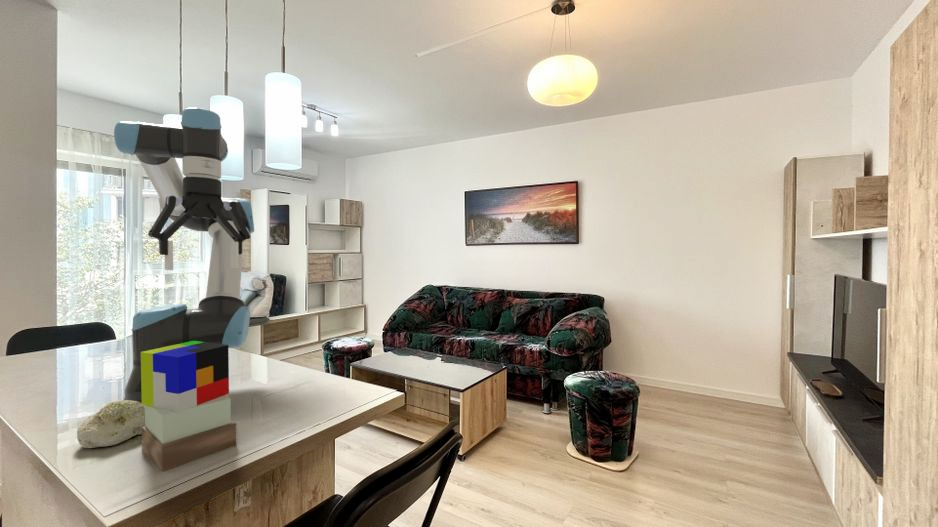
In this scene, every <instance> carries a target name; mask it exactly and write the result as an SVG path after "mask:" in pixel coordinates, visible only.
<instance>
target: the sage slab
mask: <svg viewBox="0 0 938 527" xmlns="http://www.w3.org/2000/svg"><path fill="white" fill-rule="evenodd" d="M231 400H232V399H231V397H229V396H228V395H227V394H226V395H224V396H221V397H218V398H216V399H213V400H210V401H208V402H205V403H202V404H200V405H197V406H194V407H191V408H189V409H186V410H183V411H181V412H175V411H170V410H166V409H161V408H156V407H151V406H146V405H145V427H146V428H147V429H148V430H149V431H150V432H151V433H152V434H153V435H154V436H155V437H156V438H157V439H158V440H159V441H160V442H161V443H162V444H164V443H167V442H171V441H174V440H177V439H180V438H184V437H187V436H190V435H193V434H197V433H200V432H203V431H207V430H210V429H213V428H216V427H220V426H223V425H226V424H229V423H231V420H232V416H231V415H232V414H231V413H232V412H231V411H232V410H231V408H232V407H231V402H232V401H231Z"/></svg>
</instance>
